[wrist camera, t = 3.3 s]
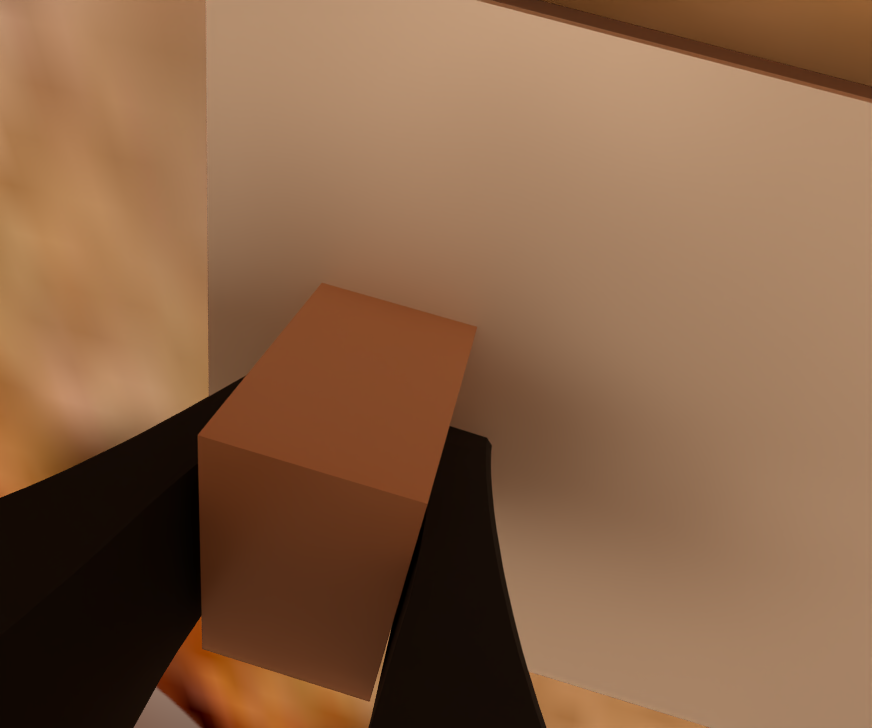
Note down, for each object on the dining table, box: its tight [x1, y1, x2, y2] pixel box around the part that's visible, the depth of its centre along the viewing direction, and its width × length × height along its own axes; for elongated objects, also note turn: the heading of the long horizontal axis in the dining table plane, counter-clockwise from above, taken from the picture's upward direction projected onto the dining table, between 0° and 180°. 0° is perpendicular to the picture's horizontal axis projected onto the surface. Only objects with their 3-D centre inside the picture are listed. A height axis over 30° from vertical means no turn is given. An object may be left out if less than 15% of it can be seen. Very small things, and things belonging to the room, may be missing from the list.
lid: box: [198, 0, 872, 728], centre depth 9 cm, size 16×12×5 cm
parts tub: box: [493, 0, 872, 99], centre depth 15 cm, size 16×12×4 cm
